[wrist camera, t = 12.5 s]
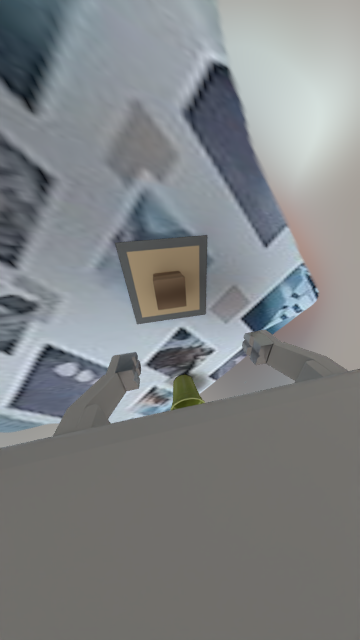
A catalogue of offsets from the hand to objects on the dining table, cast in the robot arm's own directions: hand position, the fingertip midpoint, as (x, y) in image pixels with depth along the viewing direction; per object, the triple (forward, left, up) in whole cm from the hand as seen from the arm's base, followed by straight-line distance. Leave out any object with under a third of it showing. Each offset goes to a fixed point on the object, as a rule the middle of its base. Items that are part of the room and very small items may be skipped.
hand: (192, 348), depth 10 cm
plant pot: (+31, +1, -21) cm, 37 cm away
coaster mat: (0, 0, -20) cm, 20 cm away
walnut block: (0, 0, -20) cm, 20 cm away
